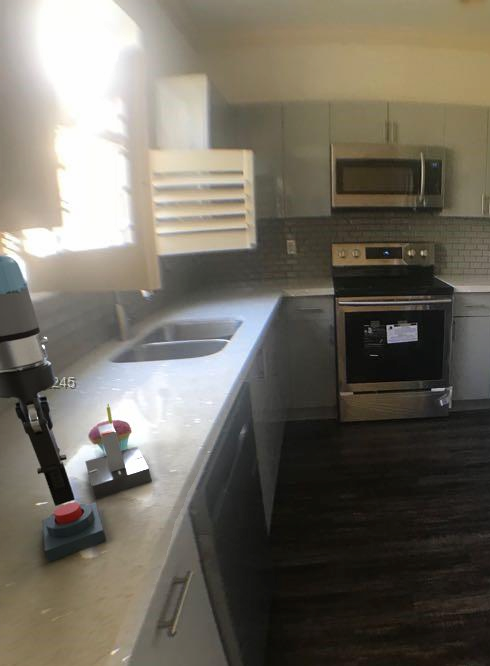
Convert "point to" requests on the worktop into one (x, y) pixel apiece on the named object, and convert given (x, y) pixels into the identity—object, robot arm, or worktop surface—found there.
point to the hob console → (118, 473)
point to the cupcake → (120, 427)
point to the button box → (73, 533)
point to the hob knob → (111, 447)
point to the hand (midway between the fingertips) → (64, 500)
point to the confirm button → (68, 513)
